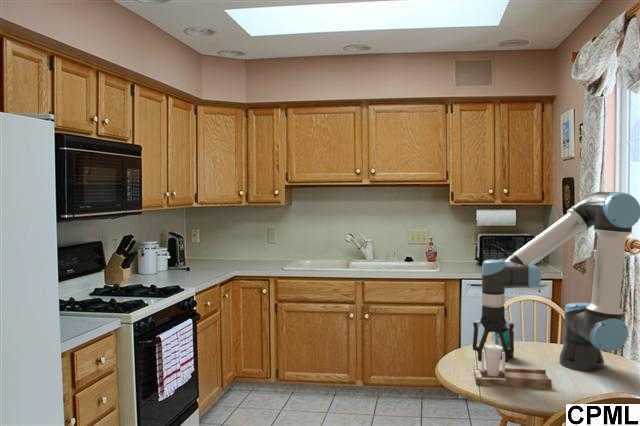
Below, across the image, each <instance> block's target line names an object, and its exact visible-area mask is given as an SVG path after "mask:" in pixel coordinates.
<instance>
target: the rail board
mask: <svg viewBox="0 0 640 426" xmlns="http://www.w3.org/2000/svg"><path fill="white" fill-rule="evenodd" d="M473 376H474V380H475V381H474V382H475V384H476V385H477V386H478V385H479V386H480V385H481V386H497V387H513V388H515V387H516V388H530V389H532V388H533V389H535V388H536V389H550V390H552V379H551V378H549V377H548V375H547V370H546V369H538V368H537V369H536V368H520V367H515V368H514V367H505V373H503V372H502V369H499V375H498V376H495V377H498V378H493V377H492V378H491V376H490V375H488V374H487V368H486V369H485V368H484V372H482V371H481V368H477V369H476V368H474V369H473ZM488 377H489V378H488ZM499 377H500V378H499ZM501 377H502V378H501Z"/></svg>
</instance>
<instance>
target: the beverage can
mask: <svg viewBox="0 0 640 426" xmlns="http://www.w3.org/2000/svg"><path fill="white" fill-rule="evenodd" d="M501 331H502V334H503V337H504V340H505V343H506V346H507V348H509V336H508V328H507V325H505V326H504V327H503V328H502V330H501ZM494 335H495V345H499V346H501V347H503V346H502V343H501V340H500V337H499V334H498V332H494ZM514 335H515V333H514V330H513V342H514V341H515V340H514V339H515V338H514V337H515V336H514ZM502 352H504V348H503V351H502ZM514 352H515V351H514ZM514 352H510V353H509V354H508V360H511V359H513V358H514V356H515V355H514V354H515V353H514ZM501 360H502V353H501Z"/></svg>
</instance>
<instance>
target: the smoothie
mask: <svg viewBox="0 0 640 426" xmlns="http://www.w3.org/2000/svg"><path fill="white" fill-rule="evenodd" d="M492 335H493V337H492V338H493V339H492V341H493V342H492V343H490V344H484V347H483V351H484V359H485V364H486V365H485V366H486V367H485V368H486V370H487V374H488V375H490V376H489V377H496V376H498V375H499V370H500V366H501V361H502V359H501V353H502V351H503V347H501V346H499V345H495V334H492Z"/></svg>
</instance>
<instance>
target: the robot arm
mask: <svg viewBox="0 0 640 426" xmlns="http://www.w3.org/2000/svg"><path fill="white" fill-rule="evenodd" d="M639 220H640V203H639V202H638V200H637V199H636V198H635V197H634V196H633V195H632V194H629V193H625V192H622V191H596V192H593V193H591V194H588V195H587V196H585V197H584V198H582V199H580V200H579V201H578V202H576V203H575V204H574V205H572V206H571V207H570V208H568V209H567V211H566V214H565V215H564V216H563V217H561V218H560V219H558V220H557V221H556V222H555V223H553V224H551V225H550V226H549V227H547V228H546V229H545V230H544V231H542V232H541V233H540V234H538V235H536V236H535V237H534V238H532V240H530V241H528V242H527V243H526V244H525V245H523V246H522V247H521V248H519V249H517V250H516V251H515V252H514V253H512V254H511V255H510V256H508V257H507V258H500V259H486V260H484V261H483V262H482V265H481V304H482V306H481V318H480V320H473V321H472V325H473V336H472V346H471V347H472V350H473V351H476V352H477V360H478V362H480V369H481V371H482V372H484V369H485V350H484V349H483V348H484V345H486V340H487V338H488V335H489V333H493V332H494V333H495V332H498V334H499V337H500V340H501V343H502V346H503V348H504V352H502V359H501V370H502V372H503V373H505V368H506V363H507V364H508V363H509V359H508V354H509V353H510V352H515V346H514V345H515V343H514V342H513V331H514V327H515V324H514V323H513V322H512V321H506V318H505V316H506V315H505V311H506V310H505V309H506V307H505V304H506V303H505V302H506V301H505V300H506V299H505V297H506V296H505V295H506V294H505V293H506V290H505V289H510V288H512V289H513V288H515V289H516V288H517V289H518V288H527V289H530V288H536V287H538V286H539V285H540V284H541V281H542V273H541V272H542V271H541V269H540V268H539V267H538V266H537V265H536V264H537V263H539V262H540V261H541V260H542V259H543V258H545V257H546V256H548V255H549V254H550V253H552V252H554V250H556V249H557V248H559V247H560V246H561V245H563V244H564V243H566V242H567V241H568V240H570V239H571V238H573V237H574V236H575V235H577V234H578V233H579V232H581V231H587V230H588V229H590V228H592V227H593V231H594V232H595V233H596V234H597V242H596V250H595V251H596V253H595V263H594V271H593V272H594V273H593V282H592V291H591V301H590V302H570V303H567V304H565V308H564V343H563V346H562V348H561V352H560V354H559V362H558V363H560V365H562V366H564V367H565V368H568V369H572V370H578V371H585V372H586V371H587V372H592V371H601V370H603V369H605V359H604V357H603V353H602V351H606V352H613V351H616V350H619V349H620V348H622V347H623V346H624V345H625V344H626V342H627V341H628V339H629V338H628V337H629V328H628V326H627V324H626V323H625V322H624V321H623V320H624V311H623V310H622V309H621V307H620V299H621V290H622V280H623V268H624V261H625V260H624V259H625V251H626V241H627V240H626V239H627V237H628V236H629V235H631V234H632V233H633V232H632V231H633V226H635V225H636V223H638V222H639ZM481 325H482V327H483V328H484V329H483V333H482V335H481V338H480V341H479V344H478V336H479V328H480V326H481ZM505 325H507V328H508V336H509V348H507V346H506V343H505V340H504V337H503V334H502V331H501V330H502V328H503V327H504V326H505Z"/></svg>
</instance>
